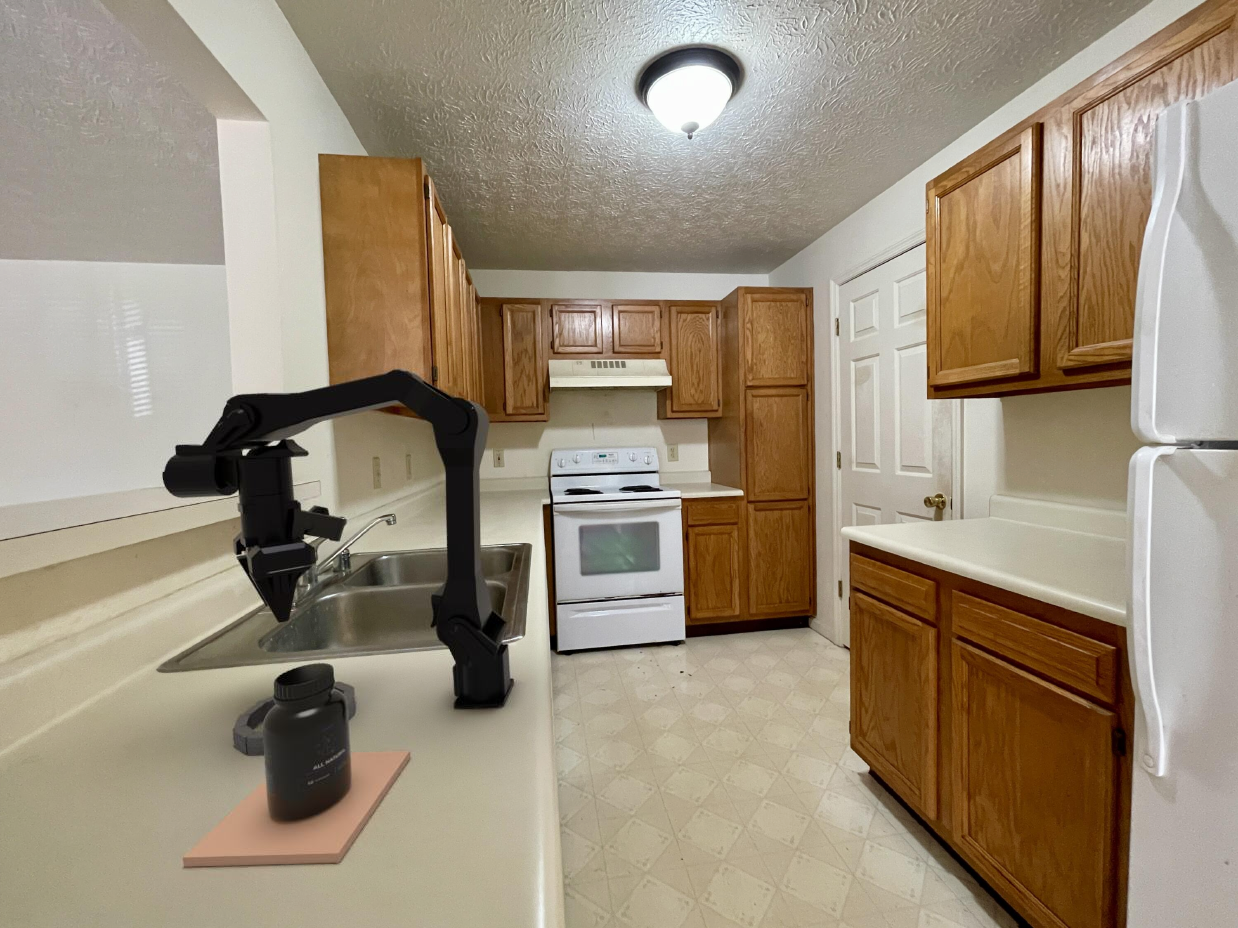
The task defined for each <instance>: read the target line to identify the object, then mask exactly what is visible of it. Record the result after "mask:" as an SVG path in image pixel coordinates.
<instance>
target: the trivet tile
mask: <svg viewBox="0 0 1238 928" xmlns="http://www.w3.org/2000/svg"><path fill="white" fill-rule="evenodd" d="M350 753H351V773H352V778H351V784H350V786H349V788H348V790H347V791H346V793H345V794H344V795H343V796H342V797H341V798H340V799H339V800H338V801H337V802H336V803H335V804H333V805H332V806H330V807H329V808H327V809H326V810H324V811H322V812H320V813H318V814H315V815H313V816H310V817H307V818H304V819H300V820H294V821H283V820H279V819H276V818H274V817H273V816H272V815H271V814H270V813H269V810H268V803H267V790H266V779H264V780H263V782H261V783H260V784H259V785H258V786H257V787H256V788H255V789H254V790H253V791H252V792H251V793H250V794H249V795H248V796H246V797H245V798H244V799H243V800H242V801H241V802H240V803H239V804H238V805H237V806H236V807H235V808H234V809H233V810H232V811H231V812H229V813H228V815H226V816H225V817H224V818H223V819H222V820H220V822H218V823H217V824H216V825H215V826H214V827H213V829H211V830H210V831H209V832H208V833H206V835H205V836H204V837H203V838H202V839H201V840H200V841H199V842H198V843H197V844H196V845H195V846H193V847H192V848H191V849H190V850H189V851H188V852H187V853H186V854H185V855H184V856H182V863H183V867H185V868H187V867H191V868H192V867H220V866H221V867H225V866H226V867H227V866H229V867H230V866H262V865H297V864H299V865H301V864H303V865H304V864H331V863H332V864H333V863H337V864H338V863H340V862H341V860H342V859H343V858H344V856H345V855H346V853H347V852H348V850H349V848H350V847H352V844H353V843H354V841H355V840H356V838H357V837H358V835H359V834H360V833H361V831H362V830H363V828H364V827H365V825H366V824H367V823H368V821H369V820H370V819H371V816H372V815H373V813H374V812H375V811H376V810H377V808H378V807H379V804H380V803H381V801H382V800H383V799H384V797H385V796H386V794H387V793H388V791H389V790H390V789H391V787H392V786H393V784H394V783H395V781H396V779H397V778H398V777H399V776H400V774H401V773H402V771H403V770H404V768H405V767H406V765H407V764H408V762H409V761H410V759H411V751H410V750H393V751H392V750H390V751H385V750H384V751H359V752H358V751H357V752H356V751H354V752H350Z"/></svg>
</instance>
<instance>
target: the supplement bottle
mask: <svg viewBox="0 0 1238 928" xmlns="http://www.w3.org/2000/svg"><path fill="white" fill-rule="evenodd" d="M335 682H336V678H335V669H334V666H333V665H332V664H330V663H325V662H322V663H321V662H317V663H308V664H305V665H301V666H298V667H297V666H296V667H294V668H291V669H287V671H284V672H282V673H280V674H279V675H278V676H277V677H276V678H275V679H274V680H273V695H272V696H273V699H274V703H275V704H276V705H275V706H274V707H273V708H272V709H271V710H270V711H269V712H268V713H267V715H266V717H265V719H264V721H263V722H262V731H263V743H264V755H263V756H264V770H265V773H264V774H265V780H266V790H267V803H268V810H269V813H270V814H271V815H272V816H273V817H274V818H276V819H279V820H283V821H294V820H300V819H304V818H307V817H310V816H313V815H315V814H318V813H320V812H322V811H324V810H326V809H327V808H329V807H330V806H332V805H333V804H335V803H336V802H337V801H338V800H339V799H340V798H341V797H342V796H343V795H344V794H345V793H346V791H347V790H348V788H349V786H350V784H351V778H352V773H351V753H352V752H351V741H350V740H351V739H350V719H349V718H348V703H347V699H346V697H345V695H344V694H343V693H342V692H340V691H339V690H336V689H334V687H335Z"/></svg>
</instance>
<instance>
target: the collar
mask: <svg viewBox="0 0 1238 928" xmlns="http://www.w3.org/2000/svg"><path fill="white" fill-rule="evenodd" d="M334 689H336V690H339V691H340V692H342V693H343V694H344V695H345V697H346V699H347V703H348V718H349V720H351V719H352V717H353V716H354V715H355V714H356V696H355V695H356V694H355V691H356V690H355V687H354V686H352V685H351V684H349V683H345V682H343V681H335V687H334ZM275 705H276V704H275V703H274V699H273V695H271V696H268V697H266V698H264V699H262V700H260V701H258V702H256V703H255V704H254V705H252V706H251V707H249V708H248V709H247V710H244V712H242V713H240V714H239V716H237V719H236V720H235V723H234V726H233V728H232V739H233V747H234V748H235V749H236V750H237V751H239V752H241V753H242V754H244V755H245V756H264V743H263V730H262V731H256V730H255V728H256V727H258V726H259V725H260V724H261V723H263V721H264V719H265V717H266V715H267V713H268V712H269V711H270V710H271V709H272V708H273V707H274V706H275Z"/></svg>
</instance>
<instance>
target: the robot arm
mask: <svg viewBox="0 0 1238 928" xmlns="http://www.w3.org/2000/svg"><path fill="white" fill-rule="evenodd" d="M399 404H402V405H403V406H405V407H407V408H408V409H409V410H411V411H412V412H413V413H415V414H416V415H417V416H419V417H420V418H422V419H423V420H425V421H427V422H428V423H431V425H432V429H433V436H434V441H435V445H436V449H437V451H438V454H439V456H440V459H441V461H442V464H443V468H444V474H445V475H444V476H445V479H444V480H445V521H446V523H445V525H446V572H447V573H446V581H445V582H444V583H443V584H442V585H440V586H439V588H437V589H436V590H435V592H433V594H431V596H430V600H431V601H430V602H431V604H430V605H431V608H432V615H433V616H432V620H431V621H432V622H431V624H430V628H432V629H433V628H435V632H436V636H437V639H438V641H439V642H440V643H442V644H444V645H445V647H447V648H448V650H449V651H450V654H451V656H452V659H453V661H454V665H453V666H452V677H453V678H452V679H453V683H452V684H453V695H454V696H455V697H456V698H455V700H454V702H453V708H454V709H463V708H465V709H469V708H471V709H472V708H473V709H474V708H491V707H492V708H498V707H499V708H500V707H502V706H504V705H505V703H506V701H507V699H508V696H509V694H510V692H511V690H512V688H513V685H514V684H515V679H514V678H511V671H510V670H511V667H510V650H509V644H508V643H502V642H503V640H504V638H505V637H506V635H507V632H508V629H509V625H510V624H509V621H507V620H506V619H505V618H504V617H502V616H501V615H500V614H499V613H498V612H497V611H495V610H494V609H493V606H492V601H491V597H490V591H489V587H488V585H487V581H486V579H485V577H484V573H483V571H482V552H481V549H482V548H481V547H482V546H481V545H482V544H481V542H482V541H481V487H480V486H481V482H480V480H481V479H480V474H481V473H480V468H481V463H482V459H483V456H484V453H485V450H486V446H487V440H488V434H489V428H490V417H489V414H488V412H487V411H486V410H485V408H483V407H482V406H481V404H479V403H477V402H474V401H472V400H469V399H466V398H463V397H456V396H455V397H453V396H451V395H450V394H448V393H446V392H444V390H441V389H439V388H438V387H436V386H434V385H432V384H430V383H429V382H427V381H425V380H424V379H422V377H421V376H419V375H418V374H416V373H415V372H411V371H409V370H406V369H403V368H394V369H392V370H390V371H388V372H386V373H381V374H376V375H372V376H368V377H364V378H359V379H354V380H351V381H346V382H341V383H337V384H333V385H327V386H322V387H319V388H318V387H317V388H314V389H310V390H309V389H308V390H305V391H301V392H259V393H258V392H257V393H239V394H236V395H234V396H231V397H230V398H229V399H227V400H226V404H225V405H224V407H223V410H222V415H221V416H220V418H219V419H218V421H217V422H216V424H215V425H214V427H213V428H212V430H210V432H209V434H208V436H207V437H206V439H205V440H204V441H203V443H202V444H197V443H196V444H194V443H193V444H191V443H190V444H176V445H175V446H174V448H175V449H174V450H175V454H174V455H172V456H171V457H170V458H169V459H168V461H166V464H165V467H164V471H162V473H161V475H162V477H161V479H162V482H163V485H164V487H165V489H166V490H167V492H168V493H169V494H170V495H172V496H174V497H176V498H180V499H186V498H192V499H193V498H209V497H211V498H212V497H226V496H227V497H229V496H232V495H234V494H236V493H237V492H238V503H237V511H238V512H239V513H240V514H239V515H240V525H241V531H240V532H239V533H238V534H237V535H236V536H235V537H234V538H233V539H232V542H233V543H232V545H233V553H234V555H236V557H235V558H236V560H237V561H238V563H239V565H240V566H241V568H242V569H243V571H244V573H245V574H246V576H247V577H248V579H249V581H250V583H251V585H253V587H254V589H255V590H256V592H257V594H258V596H259V598H260V599H261V601H262V602H263V604H264V606H266V607H268V608H269V610H270V611H271V613H272V615H273V617H274V619H275V620H276V621H277V623H279V624H281V623H285V622H288V621H289V620H290V619H291V618H290V617H291V612H292V608H293V603H294V598H295V594H296V589H297V584H298V581H299V579H300V578H301V577H302V576H303V575H304V574H305V573H306V572H307V571H309V570H311V569H312V567H313V566H314V564H316V563H317V560H316V548H315V547H314V546H312V545H311V544H309V543H308V542H307V541H305V536H309V537H315V538H322V539H327V540H329V541H330V542H339V543H340V541H341V538H342V535H343V534H344V532H343V531H344V529H345V525H346V522H347V519H346V518H342V517H339V516H336V515H330V511H329V508H328V507H325V506H320V505H313V506H312V507H310V509H309V510H302V504H301V502H300V501H299V500H298V499H295V493H294V480H293V468H292V467H293V466H292V458H303V457H308V456H309V455H310V453H309V451H308V450H306V449H305V448H304V447H302V446H301V445H299V444H298V443H297V442H296V441H295V440H294V439H293V438H291V437H294V436H296V435H298V434H301V433H303V432H305V431H307V430H309V429H311V427H313V426H314V425H317V424H319V423H322V422H325V421H330V420H333V419H338V418H339V419H340V418H343V417H348V416H352V415H356V414H360V413H365V412H370V411H373V410H378V409H383V408H387V407H392V406H395V405H399ZM273 442H278V443H277V444H275V445H270V444H271V443H273ZM244 450H248V452H247V453H246V454H245V455H244V454H243V451H244ZM242 553H243V554H242Z"/></svg>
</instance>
